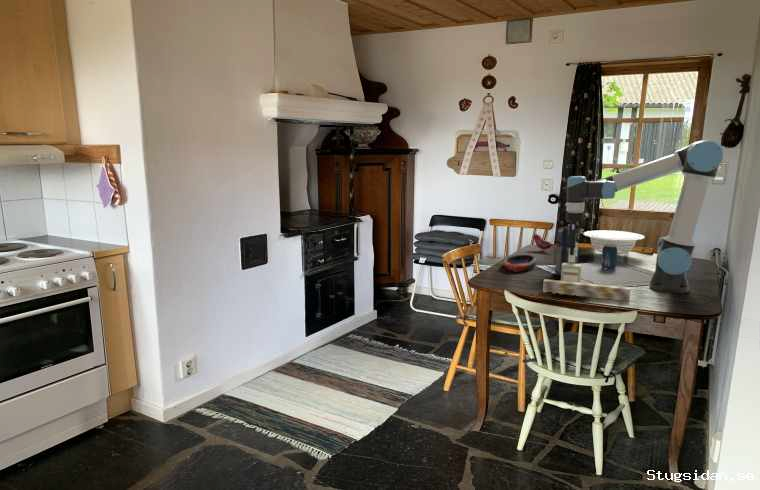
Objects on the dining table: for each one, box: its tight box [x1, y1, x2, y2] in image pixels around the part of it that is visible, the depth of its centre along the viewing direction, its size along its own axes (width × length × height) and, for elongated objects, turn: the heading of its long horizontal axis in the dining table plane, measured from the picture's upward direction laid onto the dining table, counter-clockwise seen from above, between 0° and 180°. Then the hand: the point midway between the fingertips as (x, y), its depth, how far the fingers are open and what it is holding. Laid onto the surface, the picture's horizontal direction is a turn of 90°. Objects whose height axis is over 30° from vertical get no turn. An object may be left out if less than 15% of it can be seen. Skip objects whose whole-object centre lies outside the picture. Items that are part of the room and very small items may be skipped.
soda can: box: [601, 244, 618, 270], centre depth 268 cm, size 7×7×12 cm
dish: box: [502, 253, 537, 273], centre depth 273 cm, size 16×31×5 cm, turn 147°
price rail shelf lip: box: [542, 278, 631, 302], centre depth 221 cm, size 34×4×5 cm, turn 66°
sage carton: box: [560, 263, 582, 283], centre depth 236 cm, size 8×5×10 cm, turn 66°
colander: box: [583, 229, 646, 256], centre depth 294 cm, size 32×32×13 cm
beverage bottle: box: [554, 222, 580, 276], centre depth 255 cm, size 10×13×25 cm
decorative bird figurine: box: [532, 233, 558, 253], centre depth 308 cm, size 3×18×10 cm, turn 40°
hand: (572, 259), depth 234 cm, fingers open, 13 cm apart
